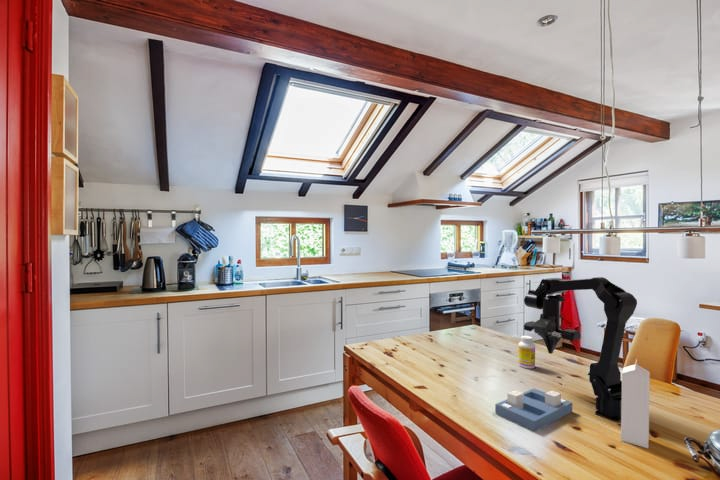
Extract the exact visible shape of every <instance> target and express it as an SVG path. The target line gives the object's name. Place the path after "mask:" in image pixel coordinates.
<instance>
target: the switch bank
mask: <svg viewBox="0 0 720 480" xmlns="http://www.w3.org/2000/svg"><path fill="white" fill-rule="evenodd" d="M522 393H523V409H522V410H521V409H519V408H516V407H514V406H512V405H509V404H508V398H506V399H504V400H502V401H500V402H497V403H495V404H494V405H495V411H494V413H495V415H498V416H501V417H502V418H505V420H506V419H507V420H508V421H511V422H513V423H515V424H518V425H519V426H522V427H523V428H526V429H528V430H530V431H532V432H536V431H538V430H540V429H541V428H542V429H543V427H547V425H550V424H552V423H553V422H555V421H558V420H559V419H561V418H563V417H565V416H567V415H569V414H571V413H572V412H573V402H572V401H570V400H566V399H564V398H562V397H561V405H560V406H558V407H556V408H554V407H552V406H549V405H547V404H545V393H546V392H545V391H542V390H539V389H537V388H532V389H529V390H527V391H525V392H522Z"/></svg>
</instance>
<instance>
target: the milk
mask: <svg viewBox="0 0 720 480" xmlns="http://www.w3.org/2000/svg"><path fill="white" fill-rule="evenodd" d="M650 375H651V373H650V371H648V370H647V369H645V368H643V367H642V366H641V365H639V364H638V360H637V358H636V359H635V363H634V364H631V365H628V366H625V367H623V369H622V372H621V381H622V409H621V420H620V426H621V427H620V441H621V442H624V443H625V442H626V443H628V444H632V445H635V446H637V447H638V446H639V447H642V448H645V449H649V444H650V380H651V379H650Z"/></svg>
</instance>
